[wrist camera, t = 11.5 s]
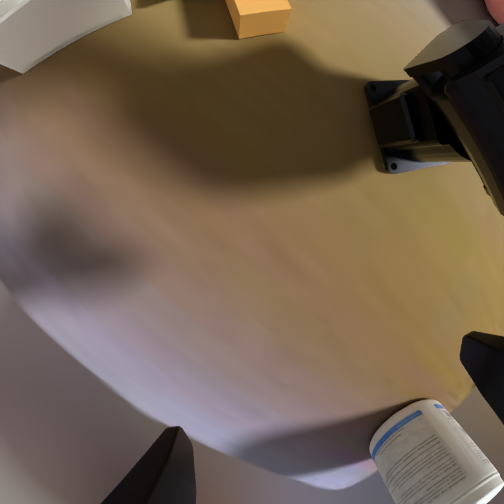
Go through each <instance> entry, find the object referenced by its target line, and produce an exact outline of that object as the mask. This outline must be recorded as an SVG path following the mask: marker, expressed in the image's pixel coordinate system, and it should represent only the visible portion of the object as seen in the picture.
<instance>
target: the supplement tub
mask: <svg viewBox="0 0 504 504" xmlns="http://www.w3.org/2000/svg"><path fill="white" fill-rule="evenodd" d="M369 450H370V454H371V456H372V458H373V460H374V462H375V464H376V466H377V468H378V470H379V472H380V474H381V476H382V478H383V480H384V482H385V484H386V486H387V488H388V490H389V492H390V494H391V496H392V498H393V500H394V502H395V504H486V503H487V502H488V501H490V500H491V499H492V498H493V497H494V496H495V495H496V494H497V493H498V492H499V491H500V490H501V488H502V487H503V486H504V482H503V480H502V479H501V477H500V476H499V475H500V474H499V473H497V470H496V469H495V468H494V466H493V465H492V464H491V463H490V461H489V460H488V459H487V458H486V456H485V455H484V454H483V453H482V452H481V450H480V449H479V448H478V447H477V446H476V444H475V443H474V442H473V441H472V440H471V438H470V437H469V436H468V435H467V434H466V432H465V431H464V430H463V429H462V428H461V427H460V425H459V424H458V423H457V422H456V421H455V420H454V418H453V417H452V416H451V415H450V414H449V413H448V411H447V410H446V409H445V408H444V407H443V406H442V405H441V404H440V403H439V402H438V401H436V400H432V399H426V400H421V401H417V402H415V403H412V404H410V405H408V406H407V407H405V408H403V409H402V410H400V411H398V412H397V413H395V414H394V415H392V416H391V417H390V418H389V419H388V420H387V421H385V422H384V423H383V424H382V425H381V426H380V428H379V429H378V430H377V431H376V433H375V434H374V436H373V438H372V440H371V442H370V447H369Z"/></svg>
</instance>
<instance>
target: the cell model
mask: <svg viewBox="0 0 504 504" xmlns="http://www.w3.org/2000/svg"><path fill="white" fill-rule="evenodd" d="M484 1H485V4H486V6H487V9H488V11H489V13H490V15H491V16H492V17H493V18H494V20H495V21H496V22H497V23H498V24H499V25H501V24H503V23H504V0H484Z"/></svg>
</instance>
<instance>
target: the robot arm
mask: <svg viewBox="0 0 504 504" xmlns="http://www.w3.org/2000/svg"><path fill="white" fill-rule="evenodd" d="M404 70H405V72H406V73H407V74H408V75H409V76H410V77H413V78H414V79H412V80H398V81H371V82H368V83H367V84H365V86H364V90H365V94H366V97H367V100H368V103H369V106H370V110H369V112H370V115H371V119H372V123H373V126H374V130H375V134H376V138H377V142H378V145H379V146H380V147H381V151H382V156H383V160H384V164H385V169H386V171H387V172H388V173H390V174H397V173H402V172H407V171H412V170H417V169H422V168H427V167H432V166H437V165H442V164H448V163H451V162H472V163H473V165H474V167H475V169H476V171H477V172H478V174H479V176H480V178H481V180H482V182H483V184H484V186H483V187H484V189H485V191H486V193H487V195H489V196H490V197H491V198H492V200H493V203H494V205H495V206H496V208H497V209H498V211H499V212H500V214H501V215H503V216H504V23H503V24H501V25H499V26H497V27H494V25H493V24H492V22H491V21H490V20H462V21H460V22H458V23H456V24H455V25H453V26H451V27H450V28H448V29H447V30H445V31H444V32H442V33H440V34H439V35H438V36H436V37H435V38H434V39H433V40H432V41H431V42H430V43H429V44H428V45H427V46H426V47H425V48H424V49H423V50H422V51H421V52H420V53H419V54H418V55H417V56H416V57H415V58H414V59H413V60H412V61H411V62H410V63H409V64H408V65H407V66H406V67H405V68H404ZM370 86H371V87H372V88H373V89H374V92H373V91H371V89H370ZM391 164H393V165H394V169H393V170H392V168H391ZM460 361H461V363H462V364H463V366H464V367H465V369H466V371H467V372H468V374H469V375H470V377H471V379H472V380H473V382H474V383H475V385H476V387H477V388H478V390H479V391H480V393H481V394H482V396H483V397H484V399H485V400H486V401H487V403H488V404H489V405H490V407H491V408H492V409H493V411H494V412H495V413H496V415H497V416H498V418H499V419H500V420H501V422H502V423H503V425H504V337H503V336H498V335H492V334H487V333H482V332H477V331H472V332H470V333H468V334H466V335H465V336H464V337H463V339H462V344H461V350H460ZM101 504H196V481H195V470H194V456H193V446H192V443H191V441H190V440H189V438H188V437H187V435H186V433H185V432H184V430H183V429H182V428H181V427H180V426H174V427H167V428H166V429H165V430H164V431H163V432H162V434H161V435H160V436H159V437H158V438H157V440H156V441H155V442H154V443H153V444H152V446H151V447H150V448H149V449H148V450H147V451H146V453H145V454H144V455H143V456H142V458H141V459H140V460H139V461H138V462H137V463H136V464H135V466H134V467H133V468H132V469H131V470H130V471H129V472H128V474H127V475H126V476H125V477H124V478H123V479H122V481H121V482H120V483H119V484H118V485H117V486H116V487H115V488H114V489H113V491H112V492H111V493H110V494H109V495H108V496H107V497H106V498H105V499H104V501H103V502H102V503H101Z"/></svg>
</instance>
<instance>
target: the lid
mask: <svg viewBox="0 0 504 504" xmlns="http://www.w3.org/2000/svg"><path fill="white" fill-rule="evenodd" d="M225 1H226V4H227V6H228V9H229V12H230V15H231V17H232V20H233V23H234V26H235V29H236V31H237V34H238V37H239V39H242V38H247V37H253V36H259V35H265V34H272V33H280V32H284V29H285V26H286V23H287V20H288V18H289V15H290V12H291V7H290V5H289V3H288V0H225Z"/></svg>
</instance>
